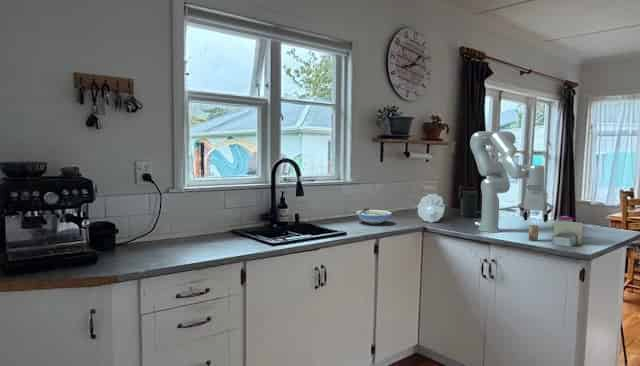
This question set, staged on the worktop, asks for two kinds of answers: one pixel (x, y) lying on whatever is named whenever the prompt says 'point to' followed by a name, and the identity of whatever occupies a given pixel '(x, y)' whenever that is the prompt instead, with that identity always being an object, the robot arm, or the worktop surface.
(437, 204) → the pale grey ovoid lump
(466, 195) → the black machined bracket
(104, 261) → the worktop surface
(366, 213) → the ramen bowl
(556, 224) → the cream block
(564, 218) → the supplement box
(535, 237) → the tan cylinder
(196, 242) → the worktop surface
